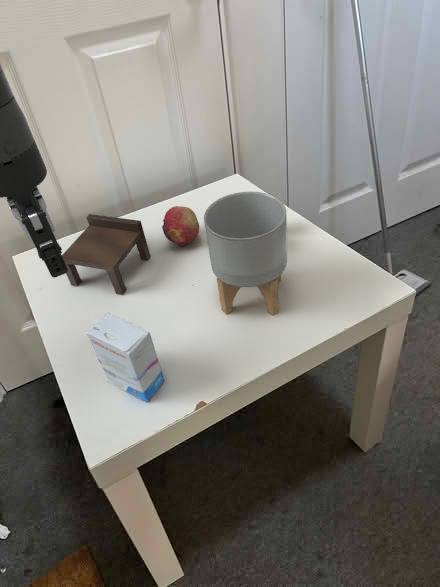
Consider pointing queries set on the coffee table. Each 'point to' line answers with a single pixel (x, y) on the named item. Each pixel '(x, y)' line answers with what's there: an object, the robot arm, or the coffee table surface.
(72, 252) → the small wooden stool
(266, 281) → the planter
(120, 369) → the ink box
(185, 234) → the fruit
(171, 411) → the coffee table surface
